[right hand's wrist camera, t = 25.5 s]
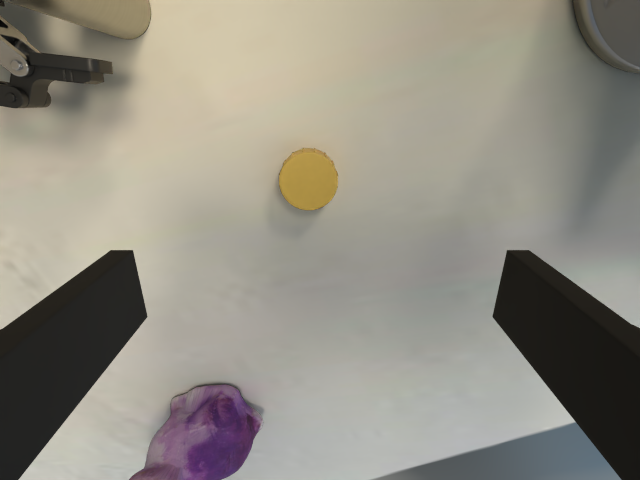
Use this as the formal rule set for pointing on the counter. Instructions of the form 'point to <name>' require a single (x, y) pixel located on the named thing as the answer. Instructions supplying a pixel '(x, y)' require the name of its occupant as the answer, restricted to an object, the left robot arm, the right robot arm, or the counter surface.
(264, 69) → the counter surface
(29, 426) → the right robot arm
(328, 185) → the lid
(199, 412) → the figurine
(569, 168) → the counter surface
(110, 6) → the jar
